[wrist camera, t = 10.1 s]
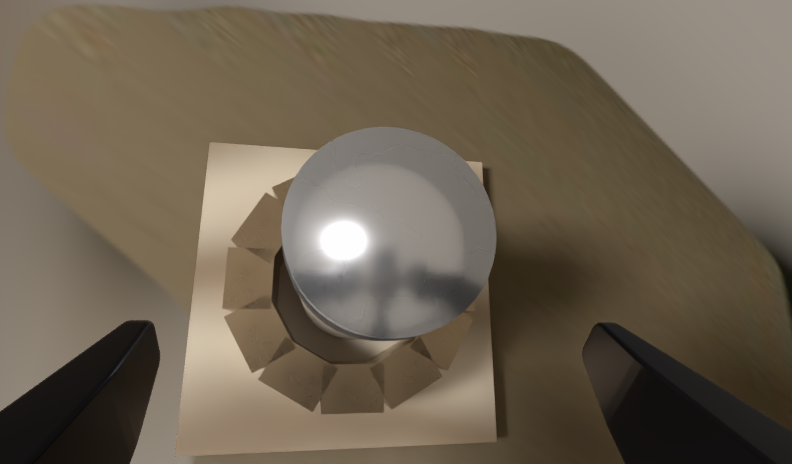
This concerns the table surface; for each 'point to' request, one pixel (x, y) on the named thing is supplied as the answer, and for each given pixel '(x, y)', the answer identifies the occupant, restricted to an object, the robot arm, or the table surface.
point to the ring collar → (299, 366)
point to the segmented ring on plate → (267, 408)
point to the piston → (386, 235)
